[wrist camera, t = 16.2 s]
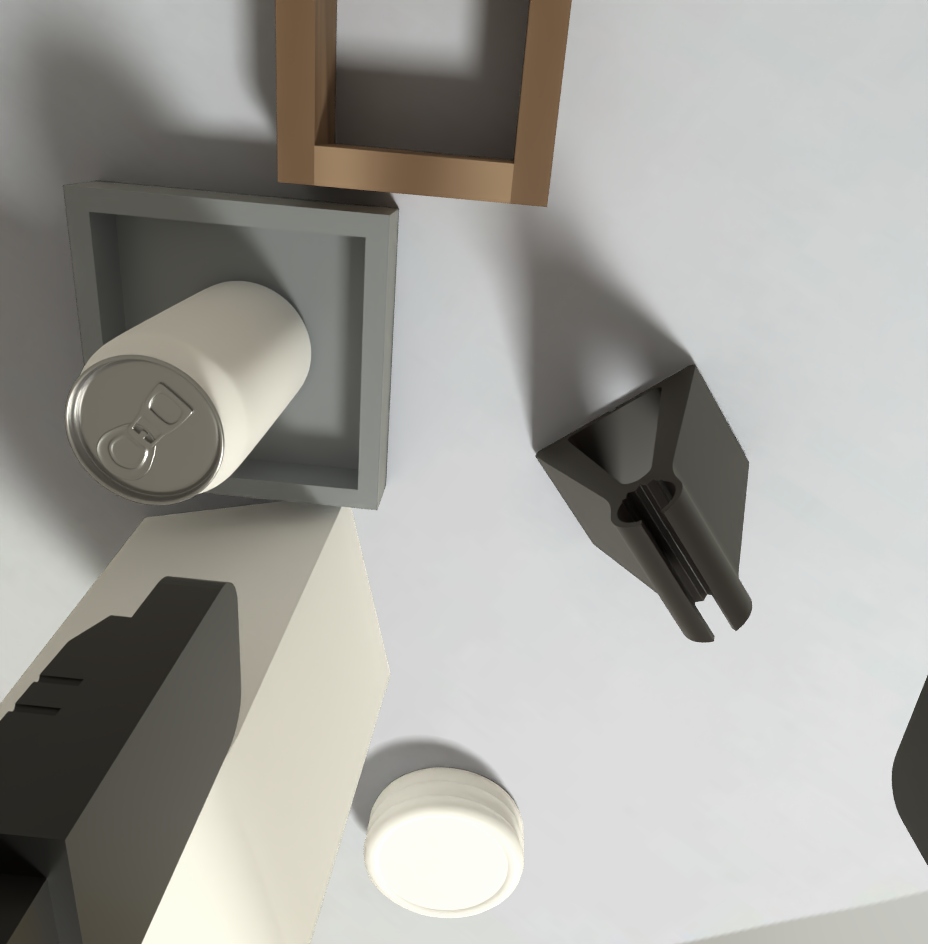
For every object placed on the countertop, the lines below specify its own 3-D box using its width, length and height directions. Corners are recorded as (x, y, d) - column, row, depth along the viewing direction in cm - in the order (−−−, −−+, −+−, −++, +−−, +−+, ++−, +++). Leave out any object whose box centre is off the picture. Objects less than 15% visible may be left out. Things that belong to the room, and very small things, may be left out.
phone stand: (694, 362, 38) (769, 457, 27) (747, 460, 40) (836, 585, 29) (534, 452, 40) (544, 573, 30) (591, 540, 42) (620, 684, 31)
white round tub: (552, 803, 50) (555, 849, 47) (475, 894, 54) (473, 942, 51) (415, 739, 49) (408, 782, 46) (345, 837, 53) (335, 883, 49)
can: (156, 343, 38) (15, 430, 28) (237, 248, 36) (121, 302, 25) (257, 433, 40) (163, 548, 29) (341, 347, 38) (273, 437, 27)
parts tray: (398, 208, 36) (389, 215, 33) (385, 484, 42) (377, 509, 39) (96, 180, 36) (63, 185, 33) (124, 459, 42) (97, 482, 39)
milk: (390, 674, 47) (267, 1241, 23) (206, 691, 48) (-91, 1246, 24) (347, 492, 42) (137, 970, 18) (145, 517, 43) (-300, 994, 19)
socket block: (577, -95, 31) (586, -124, 27) (543, 198, 35) (546, 206, 32) (300, -119, 31) (273, -152, 27) (301, 176, 36) (277, 181, 32)
